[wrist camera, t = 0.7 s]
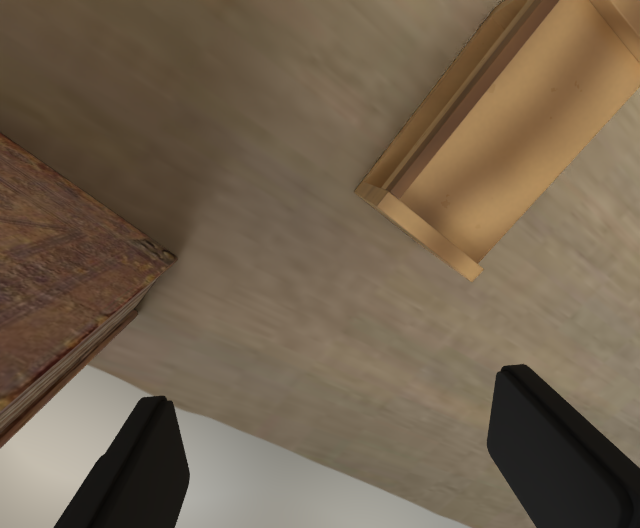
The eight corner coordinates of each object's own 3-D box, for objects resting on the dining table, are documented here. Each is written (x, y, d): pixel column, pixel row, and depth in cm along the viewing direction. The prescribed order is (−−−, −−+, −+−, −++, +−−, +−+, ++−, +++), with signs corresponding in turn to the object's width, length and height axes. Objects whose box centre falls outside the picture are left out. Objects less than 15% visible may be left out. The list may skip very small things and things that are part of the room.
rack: (353, 192, 37) (377, 207, 26) (495, 7, 32) (597, -70, 21) (424, 248, 39) (473, 283, 28) (565, 85, 35) (688, 52, 24)
